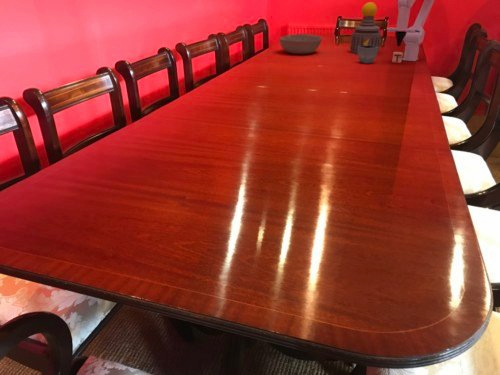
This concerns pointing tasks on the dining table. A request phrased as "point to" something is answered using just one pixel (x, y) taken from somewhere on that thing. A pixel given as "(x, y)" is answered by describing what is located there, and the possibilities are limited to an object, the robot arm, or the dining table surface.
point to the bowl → (300, 43)
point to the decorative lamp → (366, 30)
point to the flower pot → (367, 53)
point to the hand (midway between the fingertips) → (398, 45)
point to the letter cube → (397, 57)
